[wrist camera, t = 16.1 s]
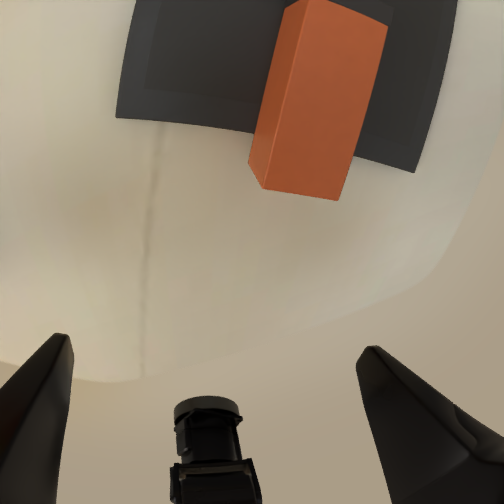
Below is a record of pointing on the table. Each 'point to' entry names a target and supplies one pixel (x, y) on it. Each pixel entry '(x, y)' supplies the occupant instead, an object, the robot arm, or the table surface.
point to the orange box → (318, 94)
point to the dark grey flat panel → (258, 65)
